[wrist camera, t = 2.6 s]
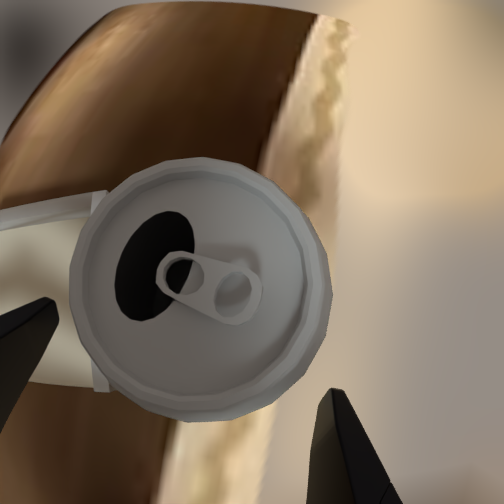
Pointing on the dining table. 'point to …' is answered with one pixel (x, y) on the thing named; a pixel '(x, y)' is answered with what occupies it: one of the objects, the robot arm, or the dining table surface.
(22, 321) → the robot arm
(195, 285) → the can
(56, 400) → the dining table surface
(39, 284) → the rail dock
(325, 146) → the dining table surface
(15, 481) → the dining table surface
